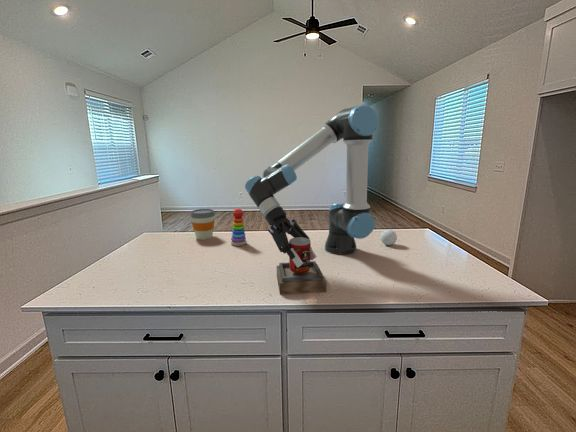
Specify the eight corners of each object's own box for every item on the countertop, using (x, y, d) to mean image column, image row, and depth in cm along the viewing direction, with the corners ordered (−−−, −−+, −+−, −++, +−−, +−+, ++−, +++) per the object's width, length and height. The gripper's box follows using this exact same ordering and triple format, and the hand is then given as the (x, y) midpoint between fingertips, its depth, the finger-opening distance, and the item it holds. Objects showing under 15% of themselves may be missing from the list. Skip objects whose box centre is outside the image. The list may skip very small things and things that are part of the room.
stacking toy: (243, 246, 154) (242, 210, 150) (228, 245, 155) (226, 210, 151) (248, 242, 161) (247, 207, 157) (234, 241, 163) (232, 207, 159)
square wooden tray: (316, 273, 121) (317, 260, 119) (325, 291, 105) (326, 276, 104) (276, 275, 119) (276, 262, 118) (279, 294, 104) (279, 279, 102)
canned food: (295, 275, 106) (295, 245, 103) (285, 267, 113) (285, 238, 110) (314, 270, 109) (314, 241, 107) (303, 263, 116) (303, 236, 114)
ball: (379, 246, 153) (380, 230, 151) (380, 241, 160) (381, 227, 158) (396, 248, 150) (397, 232, 148) (397, 243, 157) (398, 228, 155)
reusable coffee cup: (189, 236, 172) (187, 210, 169) (210, 232, 179) (208, 207, 176) (197, 241, 162) (195, 214, 159) (219, 237, 170) (217, 211, 166)
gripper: (284, 213, 124) (317, 259, 118) (248, 223, 109) (283, 276, 102) (295, 201, 120) (329, 248, 114) (258, 210, 104) (295, 265, 98)
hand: (307, 261), depth 108 cm, fingers closed on canned food, 8 cm apart
